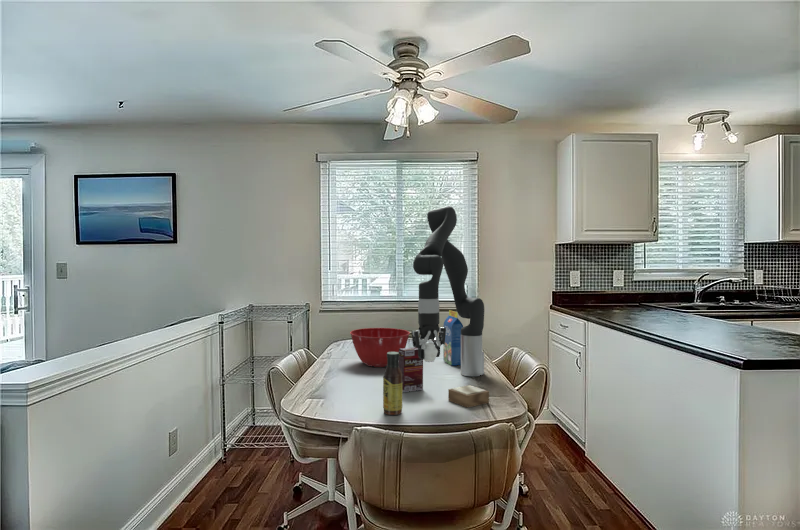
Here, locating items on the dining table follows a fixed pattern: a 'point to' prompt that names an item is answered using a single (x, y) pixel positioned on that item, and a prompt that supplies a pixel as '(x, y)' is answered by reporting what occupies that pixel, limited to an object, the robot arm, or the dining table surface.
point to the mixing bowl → (378, 344)
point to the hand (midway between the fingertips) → (429, 357)
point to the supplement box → (411, 369)
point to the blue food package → (452, 339)
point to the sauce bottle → (392, 385)
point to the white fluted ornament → (430, 352)
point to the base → (468, 396)
